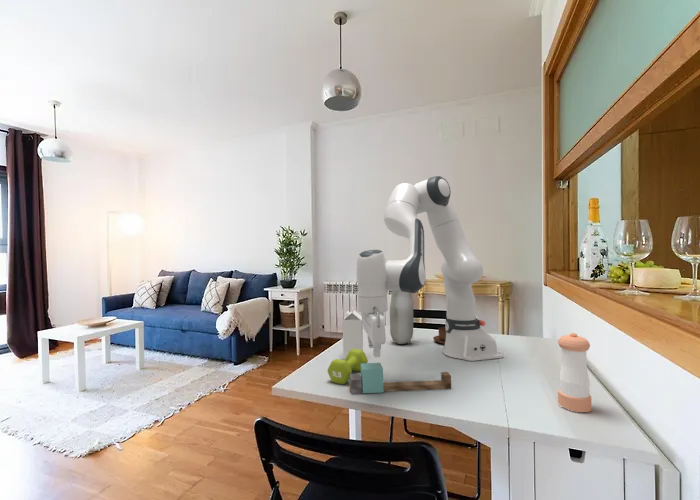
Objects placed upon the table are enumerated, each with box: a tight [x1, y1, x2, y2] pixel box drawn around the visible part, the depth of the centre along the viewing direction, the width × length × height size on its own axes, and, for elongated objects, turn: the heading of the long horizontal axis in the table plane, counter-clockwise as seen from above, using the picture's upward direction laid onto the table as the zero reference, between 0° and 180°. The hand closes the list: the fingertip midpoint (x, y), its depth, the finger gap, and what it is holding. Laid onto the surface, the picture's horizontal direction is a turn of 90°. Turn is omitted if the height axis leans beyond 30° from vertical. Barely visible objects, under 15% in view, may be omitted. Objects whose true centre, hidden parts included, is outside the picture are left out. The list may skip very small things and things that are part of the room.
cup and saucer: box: [432, 326, 446, 345], centre depth 155 cm, size 12×12×6 cm
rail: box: [349, 371, 452, 395], centre depth 103 cm, size 30×5×4 cm, turn 94°
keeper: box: [360, 362, 384, 394], centre depth 103 cm, size 6×6×7 cm
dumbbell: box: [327, 349, 369, 385], centre depth 115 cm, size 16×8×7 cm, turn 153°
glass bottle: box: [389, 291, 414, 345], centre depth 154 cm, size 10×10×28 cm
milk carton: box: [342, 306, 364, 360], centre depth 135 cm, size 7×7×19 cm
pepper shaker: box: [557, 332, 592, 413], centre depth 91 cm, size 7×7×19 cm
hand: (374, 351), depth 102 cm, fingers open, 8 cm apart
